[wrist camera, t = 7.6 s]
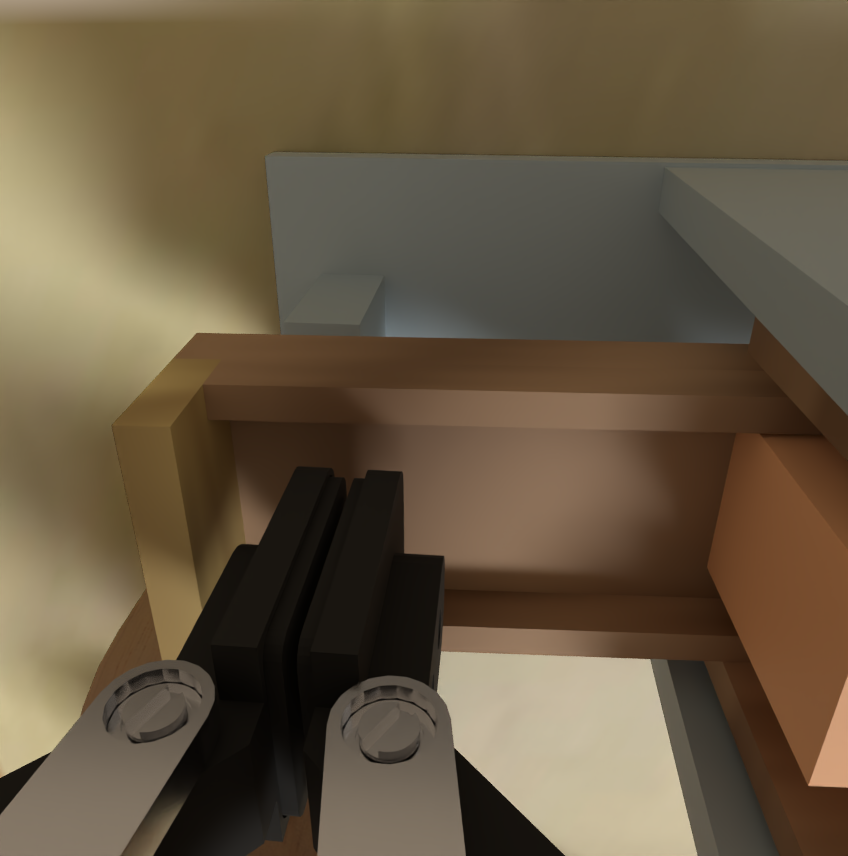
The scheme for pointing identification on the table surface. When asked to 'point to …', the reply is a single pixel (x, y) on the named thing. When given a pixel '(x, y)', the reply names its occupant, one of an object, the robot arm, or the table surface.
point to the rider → (791, 587)
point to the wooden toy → (142, 647)
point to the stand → (581, 306)
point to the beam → (496, 494)
